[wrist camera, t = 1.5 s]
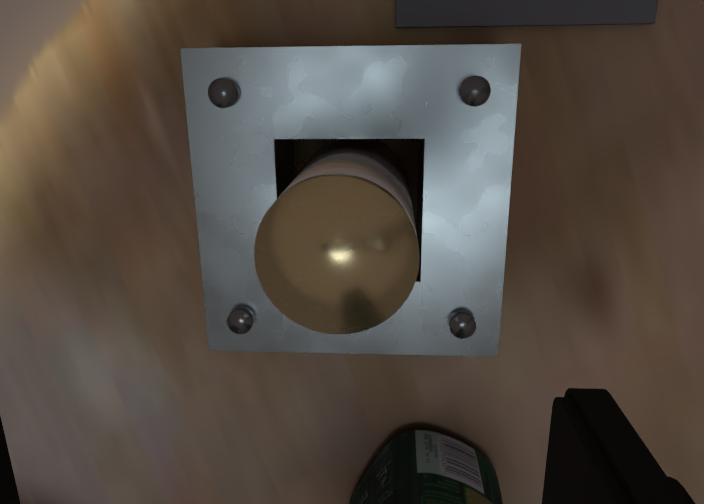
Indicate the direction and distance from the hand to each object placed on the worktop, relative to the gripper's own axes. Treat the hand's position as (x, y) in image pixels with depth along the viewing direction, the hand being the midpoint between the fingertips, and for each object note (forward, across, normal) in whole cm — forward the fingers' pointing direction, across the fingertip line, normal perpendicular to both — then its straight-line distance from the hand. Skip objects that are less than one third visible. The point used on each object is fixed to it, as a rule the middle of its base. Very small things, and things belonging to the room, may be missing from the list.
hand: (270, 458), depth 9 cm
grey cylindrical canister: (+22, 0, 0) cm, 22 cm away
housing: (+22, 0, 0) cm, 22 cm away
